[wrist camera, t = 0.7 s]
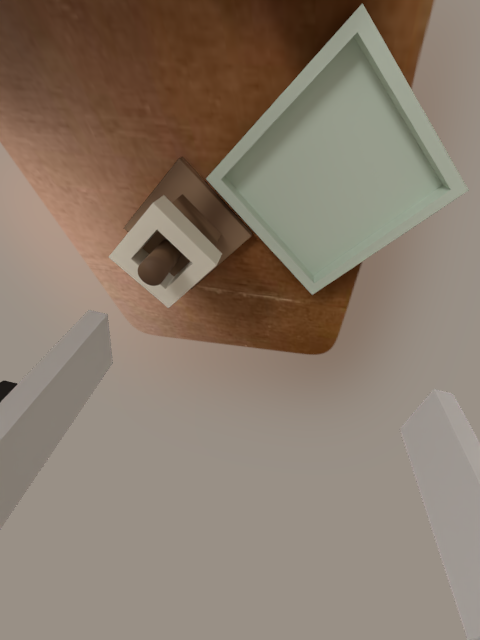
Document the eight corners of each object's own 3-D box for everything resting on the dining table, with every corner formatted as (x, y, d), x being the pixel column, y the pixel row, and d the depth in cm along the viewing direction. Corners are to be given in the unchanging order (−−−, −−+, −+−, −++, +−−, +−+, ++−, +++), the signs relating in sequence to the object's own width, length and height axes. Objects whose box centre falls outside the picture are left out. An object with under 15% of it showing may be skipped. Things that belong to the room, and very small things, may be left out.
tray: (211, 173, 30) (205, 178, 28) (356, 11, 23) (362, 3, 21) (311, 284, 36) (312, 294, 34) (456, 184, 28) (468, 190, 26)
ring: (121, 246, 30) (108, 257, 28) (163, 194, 26) (152, 202, 24) (176, 295, 32) (168, 308, 30) (222, 253, 29) (216, 265, 27)
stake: (127, 225, 35) (70, 267, 26) (182, 156, 30) (134, 180, 21) (193, 285, 38) (162, 341, 29) (252, 232, 33) (236, 280, 24)
